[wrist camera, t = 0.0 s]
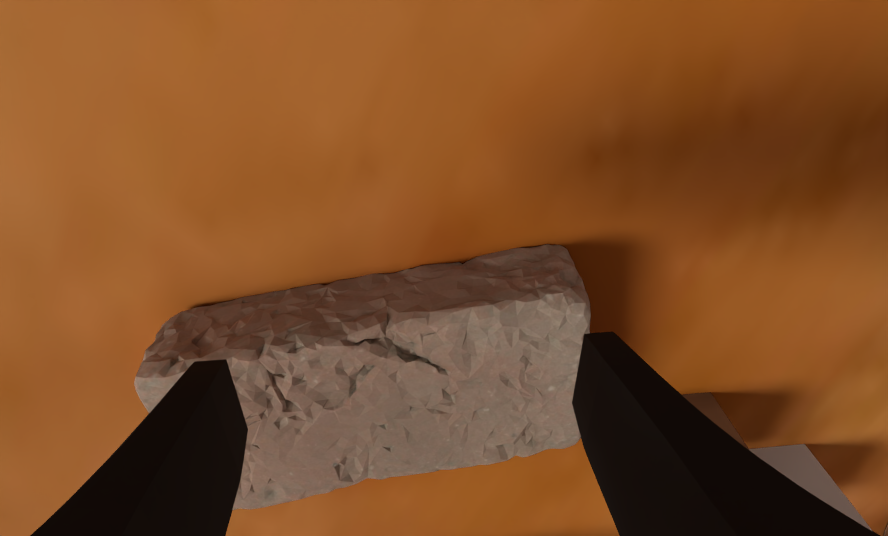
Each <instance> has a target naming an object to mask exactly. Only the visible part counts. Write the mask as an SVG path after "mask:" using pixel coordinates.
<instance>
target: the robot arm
mask: <svg viewBox="0 0 888 536" xmlns="http://www.w3.org/2000/svg"><path fill="white" fill-rule="evenodd" d="M572 405H573V409H574V413H575V417H576V421H577V424H578V428H579V432H580V435H581V439H582V442H583V446H584V449H585V452H586V454H587V457H588V459H589V462H590V464H591V467H592V469H593V472H594V474H595V476H596V479H597V481H598V484H599V486H600V489H601V491H602V494H603V496H604V498H605V501H606V503H607V506H608V508H609V511H610V513H611V515H612V518H613V520H614V523H615V525H616V528H617V530H618V532H619V535H620V536H880V535H878V534H877V533H875V532H873V531H871V530H870V529H868V528H866V527H864V526H863V525H861V524H859V523H858V522H856V521H855V520H853V519H851V518H850V517H848V516H846V515H845V514H843V513H842V512H840V511H838V510H837V509H835V508H833V507H832V506H830V505H829V504H827V503H825V502H824V501H822V500H821V499H819V498H817V497H816V496H814V495H813V494H811V493H810V492H808V491H807V490H805V489H804V488H802V487H801V486H799V485H798V484H796V483H795V482H793V481H792V480H790V479H789V478H788V477H786V476H785V475H783V474H782V473H780V472H779V471H778V470H776V469H775V468H773V467H772V466H770V465H769V464H768V463H766V462H765V461H763V460H762V459H760V458H759V457H758V456H756V455H755V454H754V453H752V452H751V451H750V450H748V449H747V448H746V447H744V446H743V445H742V444H740V443H739V442H738V441H737V440H735V439H734V438H733V437H732V436H730V435H729V434H728V433H727V432H725V431H724V430H723V429H721V428H720V427H719V426H718V425H716V424H715V423H714V422H713V421H711V420H710V419H709V418H708V417H707V416H705V415H704V414H703V413H702V412H701V411H700V410H698V409H697V408H696V407H695V406H694V405H692V404H691V403H690V402H689V401H688V400H687V399H686V398H684V397H683V396H682V395H681V394H680V393H679V392H678V391H676V390H675V389H674V388H673V387H672V386H671V385H670V384H669V383H668V382H666V381H665V380H664V379H663V378H662V377H661V376H660V375H659V374H658V373H657V372H656V371H654V370H653V369H652V368H651V367H650V366H649V365H648V364H647V363H646V362H645V361H644V360H643V359H642V358H641V357H640V356H638V355H637V354H636V353H635V352H634V351H633V350H632V349H631V348H630V347H629V346H628V345H627V344H626V343H625V342H624V341H622V340H621V339H620V338H619V337H618V336H617V335H616V334H615V333H614V332H602V333H588V334H584V337H583V343H582V348H581V354H580V360H579V365H578V371H577V377H576V382H575V388H574V393H573V399H572ZM247 433H248V427H247V424H246V421H245V417H244V414H243V411H242V408H241V405H240V401H239V398H238V395H237V392H236V389H235V386H234V382H233V379H232V376H231V373H230V370H229V366H228V363H227V360H226V359H223V360H209V361H195V362H194V363H193V364H192V365H191V366H190V367H189V368H188V369H187V370H186V371H185V373H184V374H183V375H182V376H181V377H180V378H179V379H178V381H177V382H176V383H175V384H174V385H173V386H172V388H171V389H170V390H169V391H168V392H167V393H166V395H165V396H164V397H163V398H162V399H161V400H160V402H159V403H158V404H157V405H156V406H155V407H154V409H153V410H152V411H151V412H150V413H149V414H148V415H147V417H146V418H145V419H144V420H143V421H142V422H141V423H140V424H139V426H138V427H137V428H136V429H135V430H134V431H133V432H132V433H131V435H130V436H129V437H128V438H127V439H126V440H125V441H124V442H123V443H122V445H121V446H120V447H119V448H118V449H117V450H116V451H115V452H114V453H113V454H112V455H111V457H110V458H109V459H108V460H107V461H106V462H105V463H104V464H103V465H102V466H101V467H100V468H99V469H98V470H97V471H96V472H95V473H94V474H93V475H92V476H91V477H90V478H89V479H88V480H87V481H86V482H85V483H84V484H83V486H82V487H81V488H80V489H79V490H78V491H77V492H76V493H75V494H74V495H73V496H72V497H71V498H70V499H69V500H68V501H67V502H66V503H65V504H64V505H63V506H62V507H61V508H59V509H58V510H57V511H56V512H55V513H54V514H53V515H52V516H51V517H50V518H49V519H48V520H47V521H46V522H45V523H44V524H43V525H42V526H41V527H39V528H38V529H37V530H36V531H35V532H34V533H33V534H32V535H31V536H225V535H226V531H227V527H228V524H229V520H230V517H231V513H232V509H233V506H234V502H235V498H236V495H237V491H238V487H239V483H240V480H241V474H242V468H243V462H244V455H245V448H246V441H247Z"/></svg>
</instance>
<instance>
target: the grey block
mask: <svg viewBox="0 0 888 536" xmlns="http://www.w3.org/2000/svg"><path fill="white" fill-rule="evenodd" d="M749 450H750V451H751V452H752V453H754V454H755V455H756V456H758V457H759V458H760V459H762V460H763V461H765V462H766V463H768V464H769V465H770V466H772V467H773V468H775V469H776V470H778V471H779V472H780V473H782V474H783V475H785V476H786V477H788V478H789V479H790V480H792V481H793V482H795V483H796V484H798V485H799V486H801V487H802V488H804V489H805V490H807V491H808V492H810V493H811V494H813V495H814V496H816V497H817V498H819V499H821V500H822V501H824V502H825V503H827V504H829V505H830V506H832V507H833V508H835V509H837V510H838V511H840V512H842V513H843V514H845V515H846V516H848V517H850V518H851V519H853V520H855V521H856V522H858V523H859V524H861V525H863V526H864V527H866V528H868V529H870V530H871V531H872V529H871V528H870V527H869V525H868V524H867V523H866V522H865V520H864V519H863V518H862V517H861V515H860V514H859V513H858V511H857V510H856V509H855V508H854V506H853V505H852V504H851V503H850V501H849V500H848V499H847V497H846V496H845V495H844V494H843V492H842V491H841V490H840V488H839V487H838V486H837V485H836V483H835V482H834V481H833V480H832V478H831V477H830V476H829V474H828V473H827V472H826V471H825V469H824V468H823V467H822V466H821V464H820V463H819V462H818V460H817V459H816V458H815V457H814V455H813V454H812V453H811V451H810V450H809V449H808V448H807V446H806V445H805V444H800V445H789V446H778V447H767V448H756V449H749Z"/></svg>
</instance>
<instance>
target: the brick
mask: <svg viewBox="0 0 888 536" xmlns="http://www.w3.org/2000/svg"><path fill="white" fill-rule="evenodd" d="M590 318H591V311H590V302H589V298H588V294H587V293H586V290H585V287H584V284H583V281H582V279H581V277H580V275H579V274H578V272H577V270H576V268H575V266H574V262H573V260H572V259H571V257H570V255H569V252H568V250H567V249H566V248H564V247H563V246H561V245H549V244H546V245H542V246H538V247H531V248H514V249H510V250H505V251H500V252H496V253H491V254H486V255H483V256H479V257H476V258H474V259H472V260H469V261H467V262H465V263H464V264H461V263H460V262H457V263H446V264H431V265H422V266H419V267H416V268H413V269H406V270H403V271H400V272H397V273H389V274H370V275H365V276H361V277H357V278H352V279H345V280H338V281H335V282H333V283H331V284H328V285H326V286H325V285H321V284H315V285H309V286H303V287H297V288H293V289H288V290H284V291H275V292H270V293H266V294H260V295H254V296H248V297H242V298H238V299H235V300H232V301H229V302H223V303H218V304H215V305H211V306H204V307H197V308H194V309H191V310H186V311H182V312H180V313H178V314H177V315H175V316H173V317H172V318H170V319H169V320H168V321H167V322H165V323H164V324H163V325H162V327H161V329H160V331H159V332H158V333H157V334H156V339H155V342H154V343H153V344H152V345H151V346H150V347H148V348H147V349H146V351H145V355H144V358H143V362H142V363H141V366H140V368H139V370H138V373H137V375H136V378H135V383H134V385H135V388H136V392H137V394H138V396H139V398H140V399H141V401H142V403H143V404H144V406H145V407H146V409H147V411H148V412H149V413H150V412H151V411H152V410H153V409H154V407H155V406H156V405H157V404H158V403H159V402H160V400H161V399H162V398H163V397H164V396H165V395H166V393H167V392H168V391H169V390H170V389H171V388H172V386H173V385H174V384H175V383H176V382H177V381H178V379H179V378H180V377H181V376H182V375H183V374H184V373H185V371H186V370H187V369H188V368H189V367H190V366H191V365H192V364H193V363H194V362H195V361H209V360H223V359H226V360H227V363H228V366H229V370H230V373H231V376H232V379H233V382H234V386H235V389H236V392H237V395H238V398H239V401H240V405H241V408H242V411H243V414H244V417H245V421H246V424H247V427H248V433H247V441H246V448H245V455H244V462H243V468H242V474H241V480H240V483H239V487H238V491H237V495H236V498H235V502H234V506H233V509H232V510H235V509H239V508H242V509H256V508H263V507H267V506H272V505H276V504H281V503H285V502H290V501H294V500H299V499H303V498H306V497H309V496H312V495H316V494H323V493H328V492H330V491H332V490H334V489H337V488H344V487H348V486H351V485H354V484H357V483H359V482H361V481H362V480H364V479H366V478H373V479H385V478H388V477H396V476H405V475H413V474H420V473H428V472H435V471H438V470H451V469H456V468H463V467H472V466H476V465H489V464H493V463H498V462H503V461H506V460H509V459H510V458H512V457H514V456H515V455H517V456H521V457H527V456H530V455H534V454H537V453H539V452H541V451H543V450H546V449H551V448H557V449H564V448H567V447H570V446H572V445H575V444H576V443H577V442H578V440H579V439H580V438H581V435H580V432H579V428H578V424H577V421H576V417H575V413H574V409H573V405H572V399H573V393H574V388H575V382H576V377H577V371H578V365H579V360H580V354H581V348H582V343H583V337H584V334H588V333H590Z"/></svg>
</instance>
